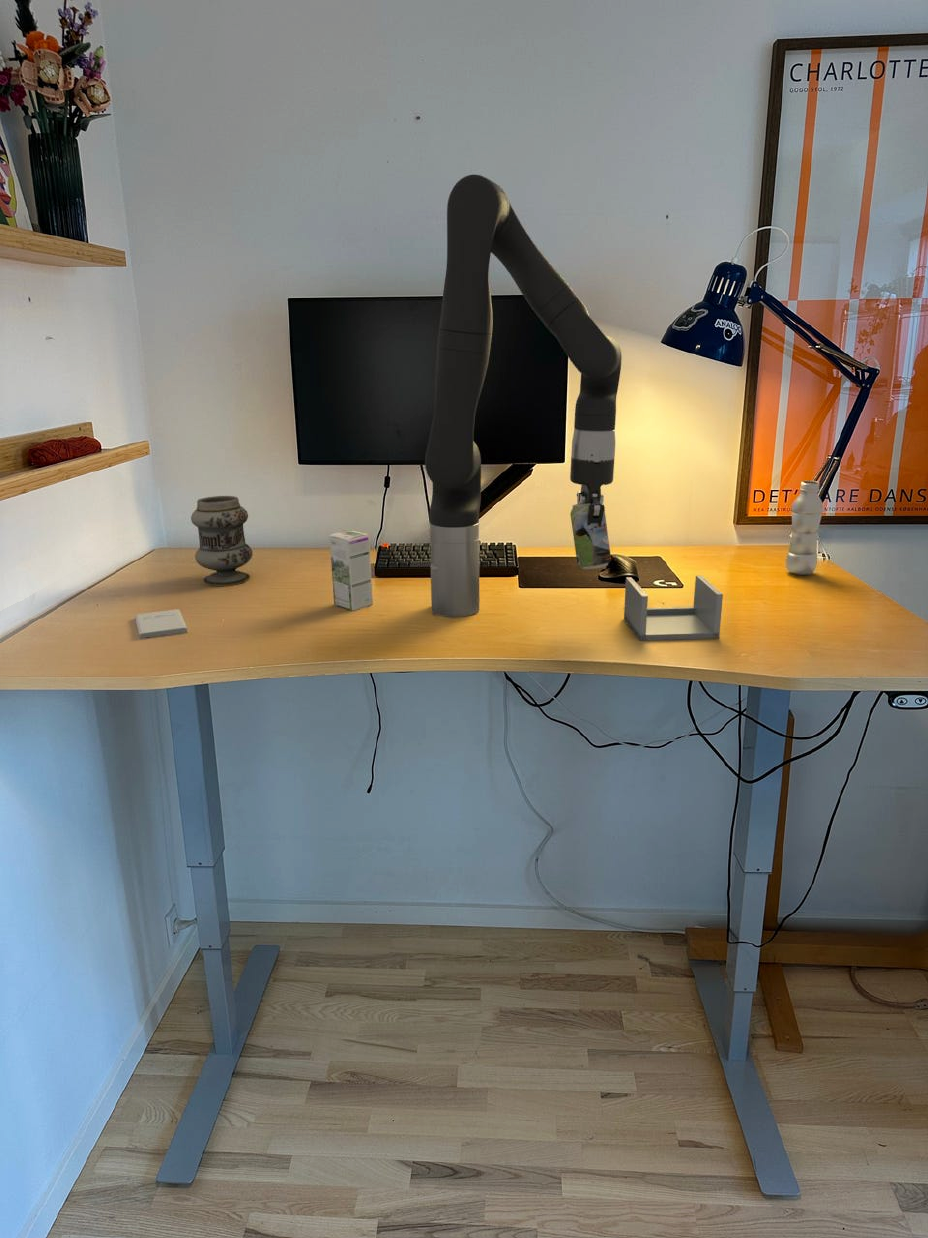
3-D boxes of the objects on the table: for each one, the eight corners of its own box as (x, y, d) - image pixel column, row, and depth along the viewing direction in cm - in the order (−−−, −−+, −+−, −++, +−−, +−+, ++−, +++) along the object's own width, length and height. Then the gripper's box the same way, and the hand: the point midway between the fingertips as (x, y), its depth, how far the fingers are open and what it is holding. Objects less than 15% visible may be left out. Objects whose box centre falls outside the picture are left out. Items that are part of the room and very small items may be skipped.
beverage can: (609, 572, 152) (611, 502, 150) (567, 571, 154) (568, 502, 151) (612, 566, 158) (613, 499, 156) (571, 565, 160) (572, 499, 157)
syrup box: (374, 604, 173) (370, 532, 168) (351, 611, 168) (347, 538, 164) (355, 599, 176) (351, 528, 172) (332, 605, 172) (328, 533, 168)
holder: (639, 640, 151) (642, 596, 149) (623, 618, 162) (625, 577, 160) (719, 638, 152) (723, 594, 149) (698, 616, 163) (701, 575, 161)
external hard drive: (140, 642, 155) (135, 622, 166) (188, 635, 158) (180, 616, 169) (139, 633, 155) (134, 613, 166) (187, 627, 158) (179, 608, 169)
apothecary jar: (224, 570, 199) (215, 491, 193) (266, 576, 193) (259, 495, 188) (185, 584, 188) (176, 501, 183) (229, 590, 183) (220, 505, 177)
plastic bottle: (818, 572, 191) (829, 481, 185) (812, 579, 186) (823, 485, 179) (788, 568, 195) (798, 478, 188) (780, 575, 189) (790, 483, 183)
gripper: (565, 449, 159) (560, 542, 164) (578, 461, 146) (573, 561, 151) (606, 450, 159) (600, 542, 165) (622, 461, 146) (615, 561, 152)
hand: (587, 551), depth 158 cm, fingers closed on beverage can
